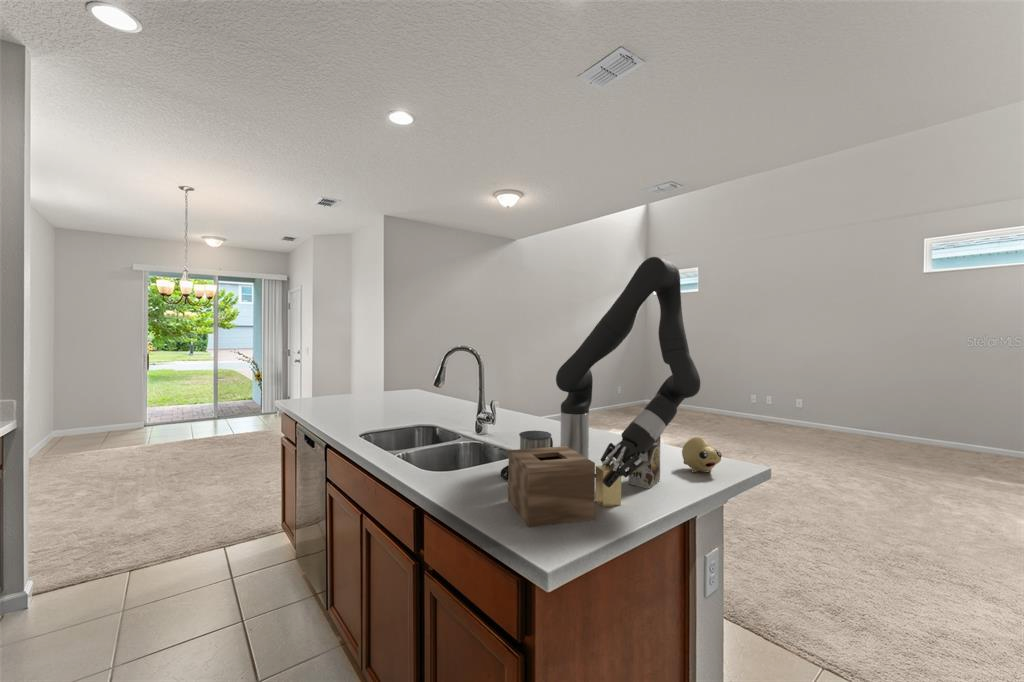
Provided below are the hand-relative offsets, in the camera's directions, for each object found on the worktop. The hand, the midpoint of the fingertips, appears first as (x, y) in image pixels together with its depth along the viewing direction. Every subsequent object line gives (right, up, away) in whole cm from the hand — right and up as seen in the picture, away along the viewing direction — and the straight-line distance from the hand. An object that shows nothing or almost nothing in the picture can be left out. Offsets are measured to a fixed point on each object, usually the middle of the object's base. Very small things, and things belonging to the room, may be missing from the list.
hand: (601, 481), depth 109 cm
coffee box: (+16, -6, +16) cm, 23 cm away
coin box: (-14, -5, -4) cm, 15 cm away
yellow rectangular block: (+2, -6, +1) cm, 6 cm away
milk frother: (-19, -6, +16) cm, 25 cm away
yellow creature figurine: (+37, -6, +27) cm, 46 cm away
